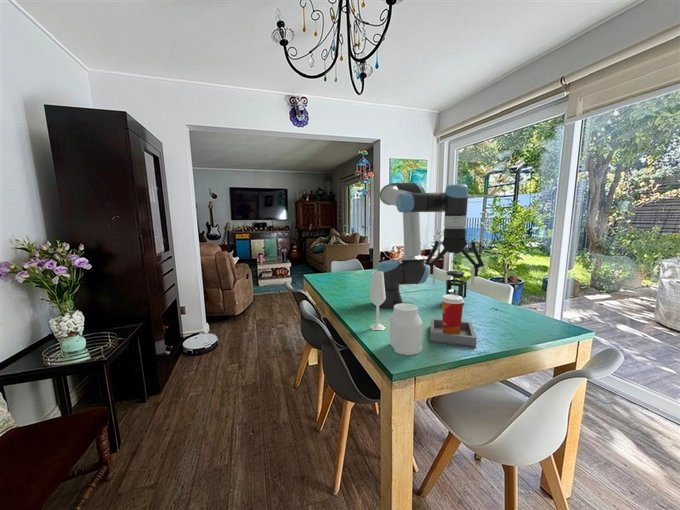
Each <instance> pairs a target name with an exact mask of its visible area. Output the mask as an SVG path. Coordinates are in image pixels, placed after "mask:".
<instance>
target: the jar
mask: <svg viewBox="0 0 680 510" xmlns="http://www.w3.org/2000/svg"><path fill="white" fill-rule="evenodd" d="M422 331H423V321H422V318H421V317H420V315H419V309H418V306H417V305H415V304H412V303H403V302H402V304H396V305H394V308H393V313H392V314H391V315H390V317H389V346H390V345H391V347H392V348H393V351H394V353H395V352H396V353H395V354H398V353H399V354H398V355H402V354H404V355H403V356H414V354H415V355H417V354H420V353H421V352H422V351H423V346H422V343H423V341H422V340H423V337H422V336H423V332H422Z"/></svg>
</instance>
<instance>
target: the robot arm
mask: <svg viewBox="0 0 680 510" xmlns="http://www.w3.org/2000/svg"><path fill="white" fill-rule="evenodd" d="M468 188H469V187H468V186H467V184H462V183H461V184H459V183H458V184H449V185H446V187H445V191H444V192H426V188H425V186H424V185H423V184H422V183H420V182H392V183H389V184H386V185H384V186H383V187H382V188H381V189H380V192H379V199H380V201H381V202H382V203H383V204H384V205H387V206H395V207H396V210H397V212H399V213H402V222H403V224H402V225H403V250H404V251H403V253H404V254H403V255H404V256H403V257H402V259H401V262H400V261H399V260H397V259H395V260H394V259H389V260H384V261H381V262H379V263H377V267H376V271H382V272H383V274H384V285H385V295H386V299H385V301H384V302H383V303H382V304H381V305H380V306H379V309H380V308H381V309H394V305H396V304H403V298H402V296H401V292H400V286H402V285H404V286H405V285H421V284H424V283H426V281H427V280H428V278H429V275H432V284H436V263H437V262H438V261H439V260H441V258H442V257H443V256H445V254H447V253H449V254H452V253H455V254H459V253H462V254H463V256H464V257H465V258H466V259H467V260H468V261H469V263H470V264H471V265H472V267H471V271H470V272H471V275H470V286H471V287H472V286H473V287H474V286H475V277H478V275H479V268H482V267H484V266H485V264H484V261H483V260H482V257H481V255H480V254H479V251H478V250H477V248H476V241H474V240H470V241H467V238H466V237H467V229H466V228H465V227H467V214H468V201H469V199H468V198H469V194H468V192H469V189H468ZM443 212H444V223H443V226H444V227H445V228H444V229H443V240H438V239H435V241H434V246H433V248H432V249H431V251H430V253H429V255H428V256H427V258H426V260H425V258H424V257H423V256H422V247H421V243H422V242H421V224H420V223H421V222H420V216H421V215H420V213H443ZM441 245H442V246H443V247H444V248H443V249H442V251H440V253H438V254H437V256H436V257H434V255H435V253H436V251H437V249H438V248H439V247H441ZM467 246H468V247H469V248H470V249H471V250H472V254H474V256H475V258H476V260H477V262H478V263H476V262H475V260H474V259H473V258H472V257H471V256H470V254H468V252H467V251H466V250H465V247H467ZM433 257H434V259H433V260H432V258H433ZM431 260H432V261H431ZM374 306H376V305H374Z"/></svg>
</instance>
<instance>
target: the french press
mask: <svg viewBox="0 0 680 510" xmlns="http://www.w3.org/2000/svg"><path fill="white" fill-rule="evenodd" d="M451 263H454V270H447V271H446V276H451V277H452V278H454V279H447V280H445V285H446V286H445V287H446V289H445V295H448V294H451V295H458V296H461V297H463V300H464V301H465V299H466V298H467V284H468V283H467V281H466V280H459V279H462V278H464V275H465V272H464V271H459V270H457V263H461V262H460V260H451ZM452 286H453V287H454V289H452ZM456 287H458V289H456ZM464 305H465V302H464V303H463V306H464Z"/></svg>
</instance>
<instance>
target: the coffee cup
mask: <svg viewBox="0 0 680 510" xmlns="http://www.w3.org/2000/svg"><path fill="white" fill-rule="evenodd" d="M440 300H441V310H442V311H441V314H442V320H443V333H448V334H457V335H460V328H461V321H462V318H463V309H464V307H463V306H464V305H463V303H464V304H465V299H464V300H463V297H461V296H458V295H452V294H448V295H446V294H442V297H441V299H440Z"/></svg>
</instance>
